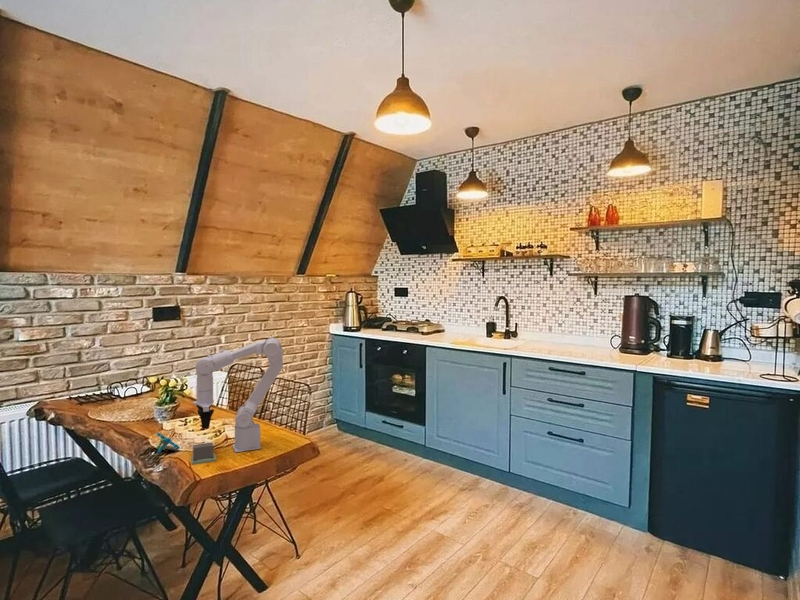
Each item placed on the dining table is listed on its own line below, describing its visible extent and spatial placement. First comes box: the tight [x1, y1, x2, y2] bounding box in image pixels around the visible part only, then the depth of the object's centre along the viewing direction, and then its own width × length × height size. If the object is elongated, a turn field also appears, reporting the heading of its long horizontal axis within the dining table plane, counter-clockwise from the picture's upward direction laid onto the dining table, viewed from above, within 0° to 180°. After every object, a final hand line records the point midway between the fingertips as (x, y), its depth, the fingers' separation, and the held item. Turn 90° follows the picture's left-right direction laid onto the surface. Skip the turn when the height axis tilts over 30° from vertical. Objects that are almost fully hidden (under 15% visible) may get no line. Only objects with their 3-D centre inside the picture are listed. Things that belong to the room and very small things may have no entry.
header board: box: [190, 452, 217, 466], centre depth 167 cm, size 8×6×3 cm
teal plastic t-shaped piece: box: [155, 432, 180, 454], centre depth 174 cm, size 11×6×10 cm
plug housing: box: [192, 442, 214, 461], centre depth 167 cm, size 7×4×4 cm, turn 116°
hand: (205, 424), depth 175 cm, fingers open, 7 cm apart
